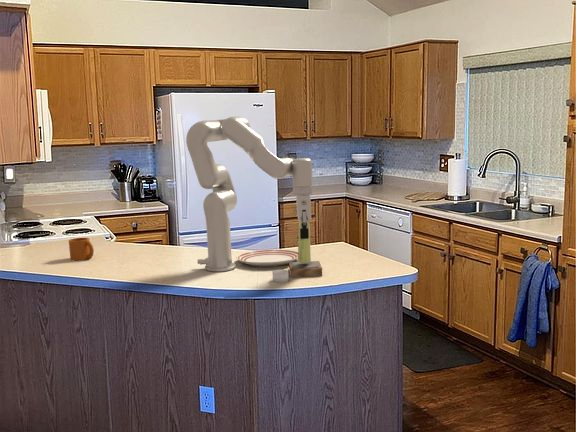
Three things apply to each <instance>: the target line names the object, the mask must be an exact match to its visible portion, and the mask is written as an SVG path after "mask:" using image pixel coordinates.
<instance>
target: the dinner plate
mask: <svg viewBox="0 0 576 432" xmlns="http://www.w3.org/2000/svg"><path fill="white" fill-rule="evenodd" d="M236 260H238V261H239V262H240V263H243V264H246V265H249V266H253V267H260V268H270V267H271V268H272V267H279V266H284V265H288V264H289V262H295V261H296V260H298V250H290V249H281V248H280V249H279V248H278V249H277V248H276V249H274V248H273V249H259V250H251V251H248V252H243V253H241V254H238V255H237V256H236Z"/></svg>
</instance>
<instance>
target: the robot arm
mask: <svg viewBox="0 0 576 432" xmlns="http://www.w3.org/2000/svg"><path fill="white" fill-rule="evenodd" d="M185 139H186V140H185V143H186V146H187V151H188V152H189V156H190V158H191V161H192V162H191V163H192V165H193V169H194V172H195V174H196V177H197V181H198V183H199V186H200V187H201V188H202V189H203V190H212V192H210V193H208V194H207V195H206V196H205V198H204V200H203V202H202V203H203V205H202V207H203V212H204V217H205V226H206V228H205V229H206V242H207V257H206V258H204V259H202V258H199V259H197V265H204V270H205V271H207V272H218V273H219V272H227V271H231V270H235V268H236V267H237V264H236V263H234V262H233V259H232V256H233V255H232V240H231V238H232V237H231V223H230V218H229V215H228V213H229V212H231V211H232V210H234V209H235V208H236V206H237V204H238V197H237V193H236V190H235V186H234V184H233V180H232V178H231V174H230V173H229V171H228V169H227V168H226V166H225V165H222V164H219V163H216V162H215V159H214V156H213V152H212V151H211V148H209V146H208V143H211V142H220V141H229V140H230V142H232V143H234V144H235V145H236V146H237V147H238V148H240V149H241V150H242V151H244V152H245V153H246V154H248V156H249V157H250V159H251V160H252V161H253V163H254V164H255V165H256V166H257V167H258V168H259V169H261V171H263V172H265V173H266V174H267V175H268V176H270V177H271V178H273V179H277V180H280V179H284V178H288V177H289V178H290V177H292V194H293V196H295V198H296V199H295V201H296V213H297V220H298V222H299V221H300V222H301V228H300V238H301V239H308V238H309V228H308V220H309V222H310V221H312V205H311V204H312V202H311V196H312V195H313V194H314V191H313V161H312V160H311V158H308V157H307V158H306V157H304V158H302V157H301V158H293V157H277V156H276V155H275V154H274V153H272V152H271V151H270V150H268V148H267V147H266V145H265V143H264V138H263V137H262V136H261V135H260V134H258V133H257V132H256V131H255V130H254V129H252V128H251V125H250V122H249V121H248V120H247V119H246V118H245V117H243V116H230V117H227V118H224V119H216V120H215V119H214V120H212V119H211V120H200V121H197V122H195V123H194V124H193V125H191V126H190V127H189V129H188V131H187V133H186V138H185ZM302 214H303V215H302ZM306 216H307V217H308V218H307V217H306ZM301 217H302V218H301ZM306 218H307V220H306ZM301 219H303V220H301Z"/></svg>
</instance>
